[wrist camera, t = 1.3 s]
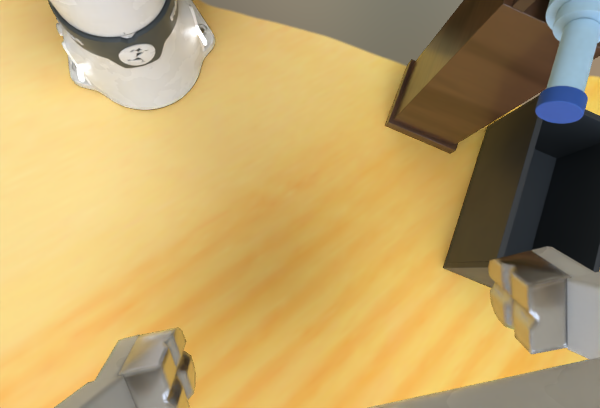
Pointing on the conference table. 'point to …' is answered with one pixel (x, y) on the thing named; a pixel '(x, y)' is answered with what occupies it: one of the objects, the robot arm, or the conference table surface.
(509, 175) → the waste bin
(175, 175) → the conference table surface
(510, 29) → the bottle stand
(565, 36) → the bottle
